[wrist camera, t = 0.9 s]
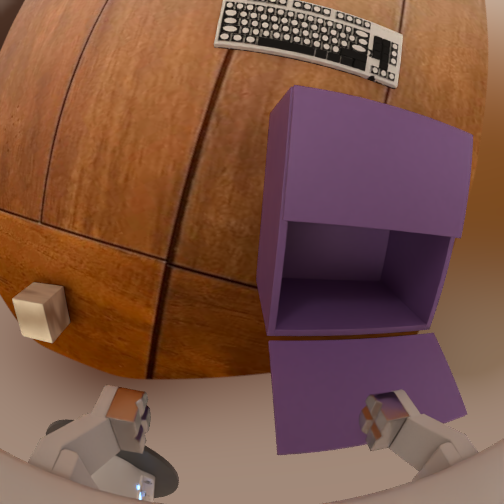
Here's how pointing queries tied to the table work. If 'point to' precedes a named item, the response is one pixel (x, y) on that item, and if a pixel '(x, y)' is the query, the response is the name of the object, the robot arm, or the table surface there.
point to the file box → (357, 215)
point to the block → (42, 311)
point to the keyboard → (311, 37)
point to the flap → (353, 387)
